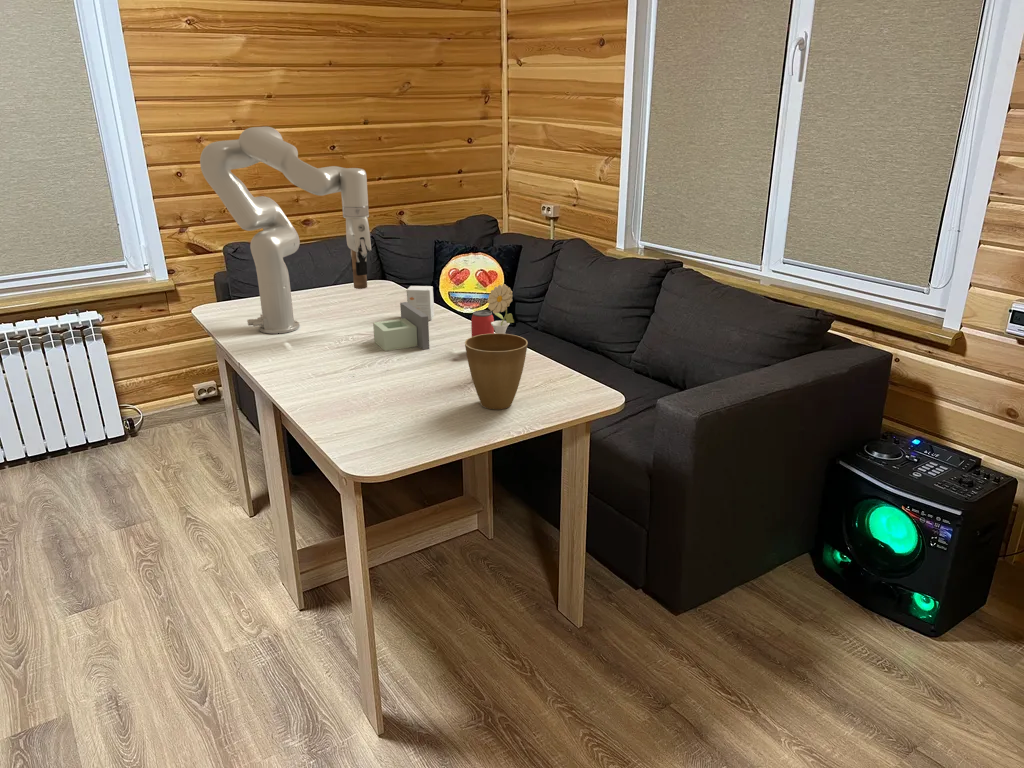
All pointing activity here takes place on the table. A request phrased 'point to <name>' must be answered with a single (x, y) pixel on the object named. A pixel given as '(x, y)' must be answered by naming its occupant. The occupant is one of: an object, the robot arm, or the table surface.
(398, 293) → the table surface
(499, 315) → the flower in vase
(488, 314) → the beer can
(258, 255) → the robot arm
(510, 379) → the plant pot
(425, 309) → the small box
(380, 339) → the sage block
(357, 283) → the walnut dowel
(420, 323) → the board
